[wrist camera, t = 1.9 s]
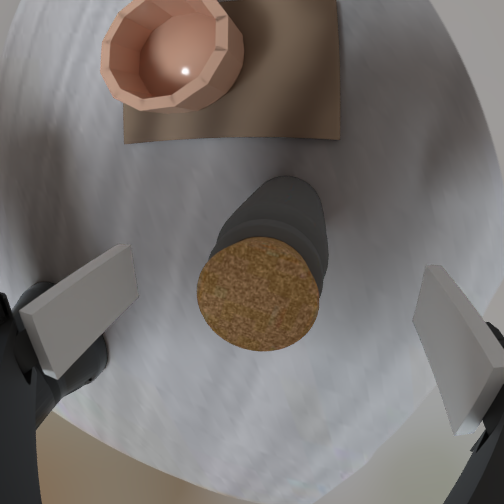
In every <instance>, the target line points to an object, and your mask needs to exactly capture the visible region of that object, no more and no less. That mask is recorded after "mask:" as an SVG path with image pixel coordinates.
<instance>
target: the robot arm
mask: <svg viewBox="0 0 504 504" xmlns="http://www.w3.org/2000/svg"><path fill="white" fill-rule="evenodd" d="M138 297H139V294H138V288H137V282H136V276H135V270H134V263H133V256H132V249H131V245H125V244H117V245H116V246H114V247H112V248H111V249H109V250H108V251H106V252H104V253H103V254H101V255H100V256H98V257H97V258H95V259H93V260H92V261H90V262H89V263H87V264H86V265H84V266H83V267H81V268H80V269H78V270H77V271H75V272H74V273H72V274H71V275H69V276H68V277H66V278H65V279H63V280H62V281H60V282H59V283H57V284H56V285H55V284H52V283H48V282H40V283H37V284H35V285H34V286H32V287H31V288H29V289H28V290H26V291H25V292H24V293H23V294H22V296H21V297H20V299H19V300H18V302H17V303H16V305H15V306H14V308H13V309H12V311H11V308H10V305H9V302H8V299H7V296H6V294H5V293H1V292H0V504H42V502H41V495H40V487H39V478H38V467H37V453H36V430H37V428H38V427H39V426H40V424H41V423H42V422H43V421H44V419H45V418H46V417H47V416H48V414H49V413H50V412H51V411H52V409H53V408H54V407H55V406H56V404H57V403H58V402H59V401H60V400H61V399H62V398H63V397H64V396H66V395H68V394H70V393H72V392H74V391H76V390H77V389H79V388H81V387H82V386H84V385H86V384H89V383H91V382H92V381H94V380H95V379H96V378H97V377H98V376H99V374H100V373H101V372H102V371H103V369H104V368H105V366H106V363H107V350H106V346H105V342H104V339H103V337H102V333H103V332H104V331H105V330H106V329H107V328H108V327H109V326H110V325H111V324H112V323H113V322H114V321H115V320H116V319H117V318H118V317H119V316H120V315H121V314H122V313H123V312H124V311H125V310H126V309H127V308H128V307H129V306H130V305H131V304H132V303H133V302H134V301H135V300H136V299H137V298H138ZM413 323H414V326H415V328H416V330H417V333H418V335H419V338H420V340H421V343H422V345H423V348H424V350H425V353H426V355H427V358H428V360H429V363H430V366H431V368H432V371H433V374H434V376H435V379H436V382H437V385H438V388H439V390H440V393H441V396H442V399H443V402H444V405H445V409H446V411H447V415H448V418H449V421H450V424H451V428H452V431H453V435H454V436H457V435H464V434H470V433H474V432H475V430H476V429H477V427H478V426H479V424H480V423H481V421H482V420H483V423H484V426H485V428H486V430H485V431H484V432H483V434H482V435H481V436H480V438H479V439H478V440H477V442H476V443H475V444H474V446H473V447H472V449H471V450H470V451H472V452H473V453H472V455H471V457H470V459H469V461H468V462H467V465H466V466H465V468H464V470H463V472H462V473H461V476H460V477H459V479H458V481H457V482H456V484H455V486H454V487H453V489H452V490H451V492H450V494H449V495H448V497H447V498H446V500H445V501H444V503H443V504H504V337H503V335H502V334H501V332H500V331H499V330H498V329H497V328H496V327H494V326H493V325H492V324H491V323H489V322H485V321H484V320H483V318H482V317H481V316H480V314H479V313H478V312H477V310H476V309H475V308H474V306H473V305H472V304H471V302H470V301H469V300H468V298H467V297H466V296H465V294H464V293H463V292H462V291H461V289H460V288H459V287H458V285H457V284H456V283H455V282H454V280H453V279H452V278H451V277H450V276H449V274H448V273H447V272H446V271H445V269H444V268H443V267H442V266H438V265H426V267H425V272H424V276H423V281H422V285H421V290H420V294H419V298H418V302H417V306H416V310H415V314H414V317H413ZM473 450H474V451H473Z"/></svg>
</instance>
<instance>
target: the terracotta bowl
mask: <svg viewBox="0 0 504 504" xmlns="http://www.w3.org/2000/svg"><path fill="white" fill-rule="evenodd" d="M244 53H245V51H244V43H243V35H242V33H241V32H240V31H239V29H238V28H237V26H236V25H235V24H234V22H233V21H232V20H231V18H230V17H229V16H228V14H227V13H226V11H225V10H224V9H223V8H222V6H221V5H220V4H219V2H218V1H217V0H133V1H132V2H131V3H129V4H128V5H127V6H126V7H125V8H123V9H122V10H121V11H120V12H118V14H117V16H116V17H115V19H114V21H113V23H112V24H111V26H110V28H109V30H108V32H107V34H106V35H105V37H104V39H103V41H102V50H101V68H100V73H101V75H102V77H103V79H104V81H105V83H106V85H107V86H108V88H109V90H110V92H111V94H112V96H113V98H115V99H117V100H119V101H121V102H123V103H125V104H127V105H129V106H131V107H133V108H135V109H137V110H139V111H146V112H156V113H166V114H170V113H187V112H193V111H199V110H200V109H203V108H205V107H208V106H209V105H211V104H213V103H215V102H216V101H217V100H219V99H220V98H221V97H223V96H224V95H225V94H226V93H227V92H228V91H229V90H230V88H231V87H232V86H233V84H234V83H235V82H236V80H237V78H238V76H239V74H240V72H241V69H242V66H243V62H244Z"/></svg>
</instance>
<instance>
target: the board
mask: <svg viewBox="0 0 504 504" xmlns="http://www.w3.org/2000/svg"><path fill="white" fill-rule="evenodd" d="M219 4H220V5H221V6H222V8H223V9H224V10H225V11H226V13H227V14H228V16H229V17H230V18H231V20H232V21H233V22H234V24H235V25H236V26H237V28H238V29H239V31H240V32H241V33H242V35H243V43H244V51H245V53H244V62H243V66H242V69H241V72H240V74H239V76H238V78H237V80H236V82H235V83H234V84H233V86H232V87H231V88H230V90H229V91H228V92H227V93H226V94H225V95H224V96H223V97H221V98H220V99H219V100H217V101H216V102H215V103H213V104H211V105H209V106H208V107H205V108H203V109H200V110H199V111H193V112H187V113H170V114H166V113H156V112H146V111H139V110H137V109H135V108H133V107H131V106H129V105H127V104H125V103H123V121H124V144H133V143H143V142H153V141H165V140H179V139H197V138H222V137H290V138H315V139H333V140H340V58H339V35H338V19H337V5H336V0H235V1H226V2H219Z"/></svg>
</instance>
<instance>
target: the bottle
mask: <svg viewBox="0 0 504 504" xmlns="http://www.w3.org/2000/svg"><path fill="white" fill-rule="evenodd" d="M328 257H329V253H328V243H327V235H326V228H325V222H324V215H323V210H322V205H321V202H320V199H319V197H318V195H317V193H316V192H315V190H314V189H313V188H312V187H311V186H310V185H309V184H307V183H306V182H304V181H302V180H300V179H298V178H294V177H288V176H284V177H277V178H274V179H271V180H269V181H267V182H266V183H264V184H263V185H262V186H261V187H259V188H258V189H257V190H256V191H255V192H254V193H253V194H252V195H251V196H250V197H249V198H248V199H247V200H246V201H245V202H244V203H243V204H242V205H241V206H240V207H239V208H238V209H237V210H236V211H235V212H234V213H233V214H232V216H231V217H230V218H229V219H228V220H227V221H226V223H225V224H224V226H223V227H222V229H221V231H220V233H219V236H218V239H217V243H216V245H215V247H214V248H213V250H212V251H211V254H210V256H209V259H208V262H207V263H206V265H205V266H204V268H203V269H202V271H201V273H200V277H199V280H198V284H197V300H198V305H199V308H200V311H201V313H202V315H203V317H204V319H205V321H206V322H207V324H208V325H209V326H210V327H211V329H212V330H213V331H214V332H215V333H216V334H217V335H219V336H220V337H221V338H223V339H224V340H226V341H227V342H229V343H231V344H233V345H235V346H238V347H241V348H243V349H248V350H253V351H274V350H278V349H282V348H285V347H287V346H290V345H292V344H294V343H295V342H297V341H298V340H300V339H301V338H302V337H303V336H304V335H306V334H307V333H308V331H309V330H310V329H311V327H312V326H313V324H314V322H315V320H316V317H317V314H318V310H319V298H320V296H321V292H322V287H323V279H324V276H325V274H326V271H327V267H328Z"/></svg>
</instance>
